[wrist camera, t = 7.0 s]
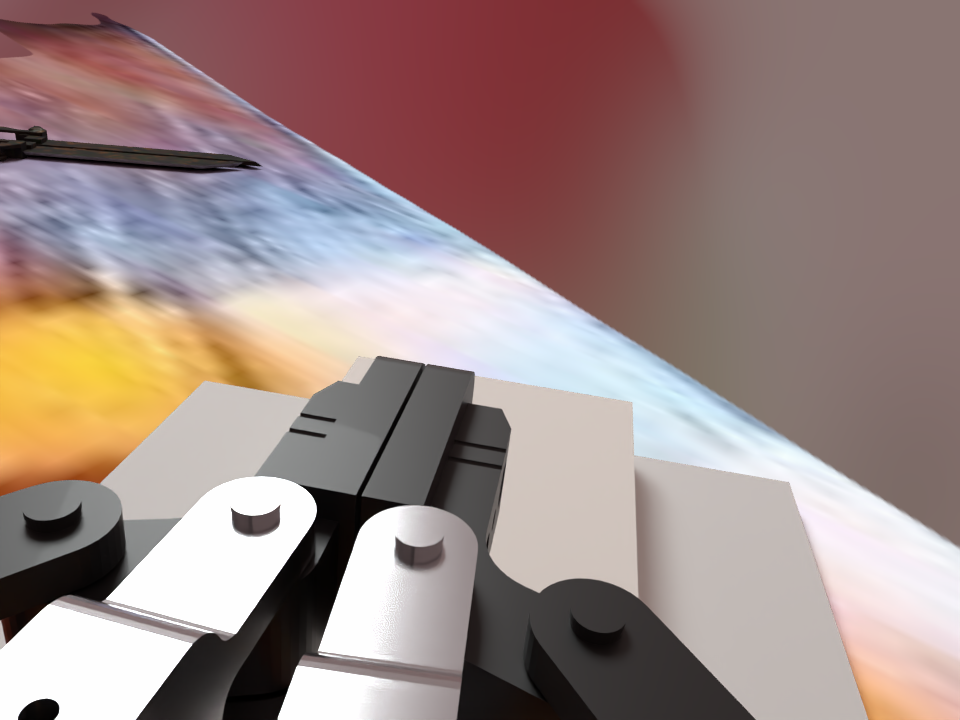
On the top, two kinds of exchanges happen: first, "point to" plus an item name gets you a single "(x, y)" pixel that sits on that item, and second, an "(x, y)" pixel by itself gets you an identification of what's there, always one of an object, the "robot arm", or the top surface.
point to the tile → (561, 484)
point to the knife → (108, 152)
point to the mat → (660, 550)
